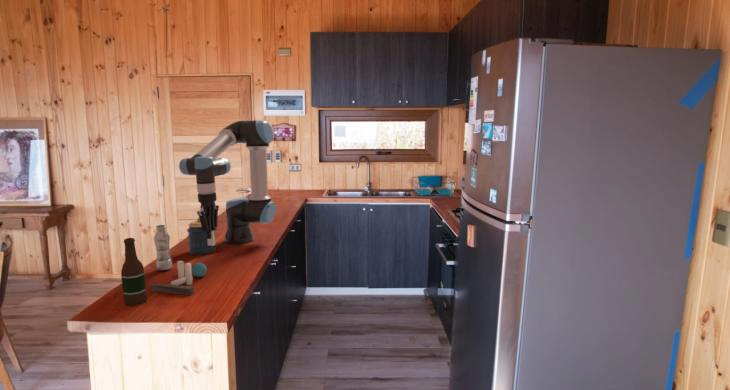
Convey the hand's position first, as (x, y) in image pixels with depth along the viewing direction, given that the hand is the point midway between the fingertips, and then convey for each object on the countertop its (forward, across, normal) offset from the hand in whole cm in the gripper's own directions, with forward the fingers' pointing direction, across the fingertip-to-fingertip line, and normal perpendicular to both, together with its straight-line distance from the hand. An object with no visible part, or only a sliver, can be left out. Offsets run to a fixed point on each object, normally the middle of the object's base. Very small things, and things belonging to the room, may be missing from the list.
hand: (211, 244), depth 195 cm
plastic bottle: (+11, +6, -21) cm, 24 cm away
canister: (+12, -22, -21) cm, 33 cm away
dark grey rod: (+10, +28, 0) cm, 30 cm away
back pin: (+11, +17, -4) cm, 20 cm away
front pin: (+10, +15, -1) cm, 18 cm away
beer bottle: (+10, +39, -7) cm, 41 cm away
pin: (+11, +19, +1) cm, 22 cm away
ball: (+8, +10, 0) cm, 13 cm away
